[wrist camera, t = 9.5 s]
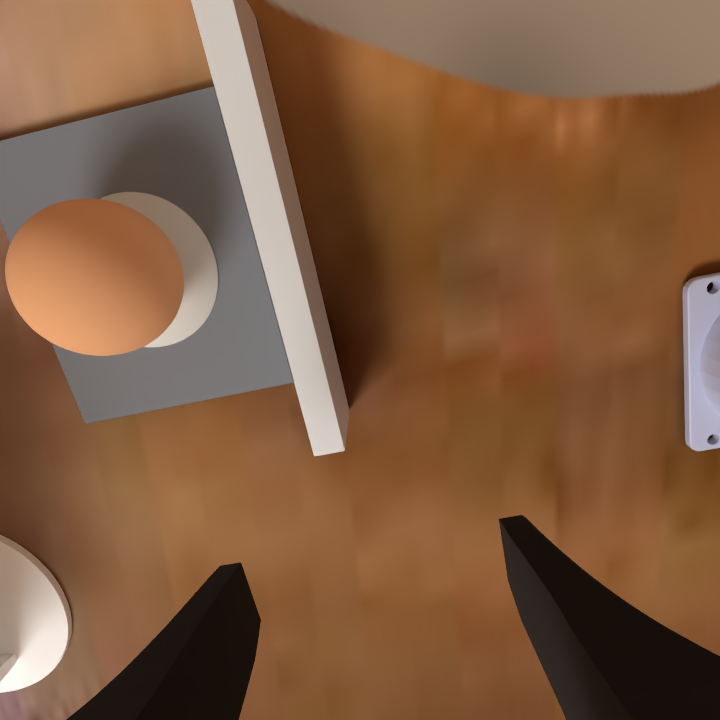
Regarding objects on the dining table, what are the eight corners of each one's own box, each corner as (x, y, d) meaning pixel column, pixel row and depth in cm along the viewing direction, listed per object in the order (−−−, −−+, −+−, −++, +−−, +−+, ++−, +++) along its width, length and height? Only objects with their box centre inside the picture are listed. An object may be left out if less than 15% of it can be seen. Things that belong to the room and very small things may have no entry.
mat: (217, 89, 18) (212, 85, 17) (295, 379, 21) (292, 383, 20) (-20, 150, 18) (-32, 148, 18) (91, 419, 22) (84, 424, 21)
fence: (255, 16, 17) (221, -45, 13) (349, 410, 21) (344, 450, 17) (224, 25, 17) (181, -34, 13) (324, 414, 21) (314, 456, 17)
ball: (182, 188, 18) (98, 172, 13) (222, 322, 19) (162, 358, 14) (55, 218, 19) (-75, 216, 13) (104, 346, 20) (4, 390, 15)
